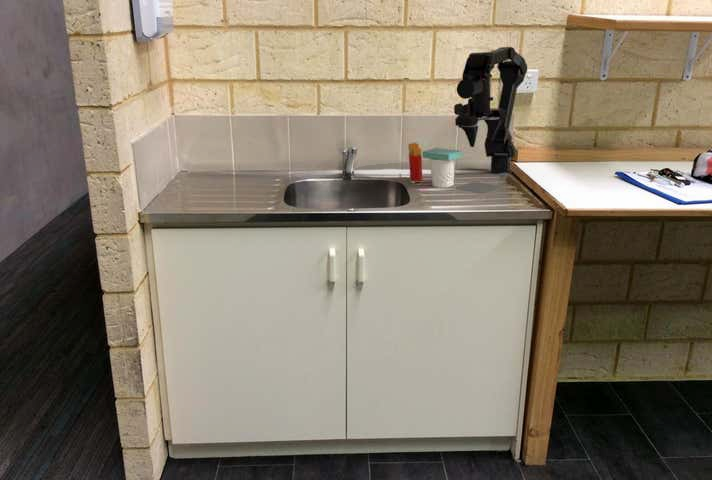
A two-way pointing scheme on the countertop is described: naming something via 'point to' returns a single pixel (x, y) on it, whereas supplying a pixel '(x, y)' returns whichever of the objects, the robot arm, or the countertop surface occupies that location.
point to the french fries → (415, 162)
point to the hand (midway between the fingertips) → (481, 144)
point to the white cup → (442, 173)
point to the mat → (478, 187)
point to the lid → (442, 154)
